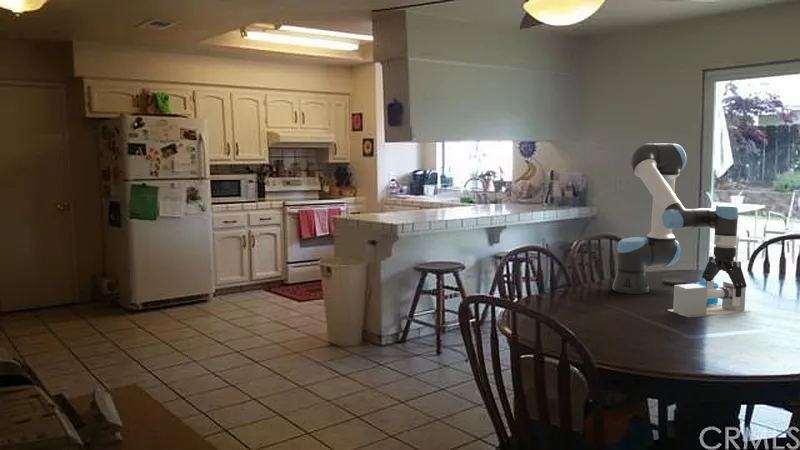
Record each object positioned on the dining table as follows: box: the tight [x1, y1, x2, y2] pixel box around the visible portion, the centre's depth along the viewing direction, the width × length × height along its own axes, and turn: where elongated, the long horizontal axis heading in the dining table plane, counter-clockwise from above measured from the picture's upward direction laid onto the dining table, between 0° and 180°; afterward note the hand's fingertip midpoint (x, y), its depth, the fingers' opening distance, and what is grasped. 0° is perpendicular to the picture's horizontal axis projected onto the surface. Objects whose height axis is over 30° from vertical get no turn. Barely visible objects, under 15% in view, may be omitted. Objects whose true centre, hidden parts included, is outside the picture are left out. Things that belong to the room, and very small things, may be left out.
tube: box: [707, 286, 734, 300], centre depth 242 cm, size 18×4×4 cm, turn 104°
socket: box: [721, 280, 747, 311], centre depth 244 cm, size 4×7×10 cm, turn 14°
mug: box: [695, 281, 719, 304], centre depth 259 cm, size 12×8×8 cm
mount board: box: [668, 304, 752, 318], centre depth 242 cm, size 12×28×1 cm, turn 104°
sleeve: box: [672, 283, 708, 316], centre depth 240 cm, size 9×7×10 cm
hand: (722, 301), depth 243 cm, fingers open, 13 cm apart
